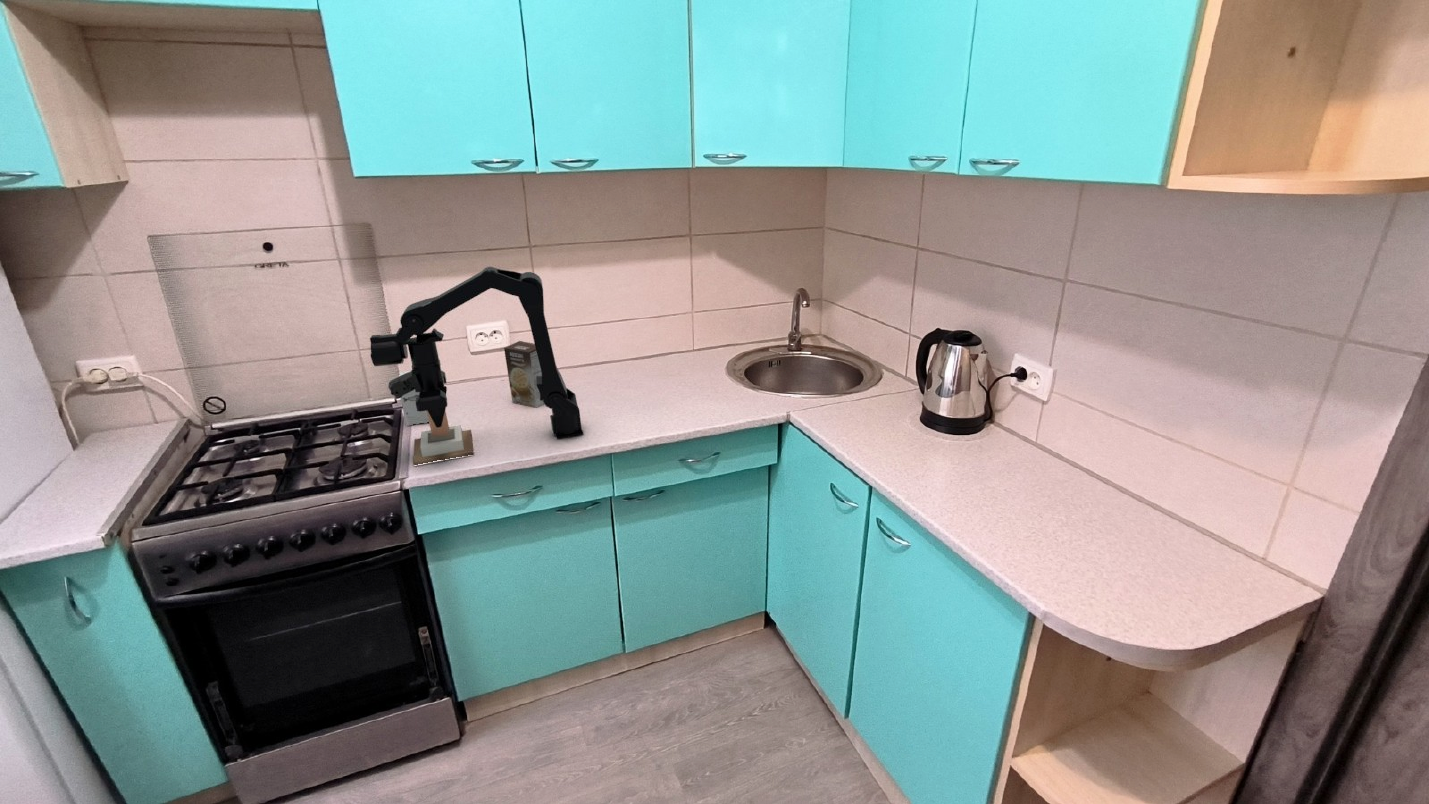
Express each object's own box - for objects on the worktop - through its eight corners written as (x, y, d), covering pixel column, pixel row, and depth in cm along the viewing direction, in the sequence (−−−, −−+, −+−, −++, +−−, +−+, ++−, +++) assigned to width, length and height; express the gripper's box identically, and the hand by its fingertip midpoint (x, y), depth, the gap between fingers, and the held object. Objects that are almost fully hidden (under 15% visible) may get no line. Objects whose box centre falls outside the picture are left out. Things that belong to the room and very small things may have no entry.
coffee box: (511, 402, 185) (502, 347, 178) (527, 394, 190) (518, 340, 183) (536, 408, 181) (528, 351, 174) (552, 399, 186) (545, 344, 179)
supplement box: (406, 426, 172) (395, 381, 167) (409, 415, 179) (399, 371, 174) (436, 422, 174) (426, 377, 169) (439, 411, 180) (430, 367, 175)
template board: (471, 433, 167) (469, 420, 166) (473, 455, 156) (471, 442, 155) (415, 442, 163) (412, 429, 162) (413, 466, 152) (410, 453, 151)
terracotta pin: (449, 428, 160) (443, 397, 157) (449, 434, 157) (443, 403, 154) (431, 431, 159) (424, 400, 156) (431, 438, 156) (424, 406, 153)
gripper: (388, 353, 156) (403, 414, 163) (383, 380, 140) (399, 446, 147) (439, 346, 160) (452, 406, 166) (440, 371, 144) (453, 437, 150)
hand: (438, 423), depth 157 cm, fingers closed on terracotta pin, 4 cm apart
